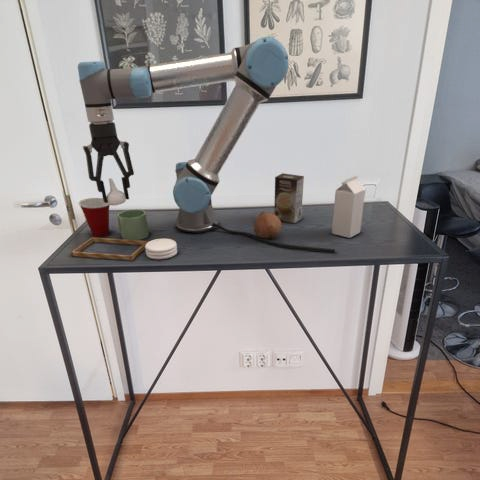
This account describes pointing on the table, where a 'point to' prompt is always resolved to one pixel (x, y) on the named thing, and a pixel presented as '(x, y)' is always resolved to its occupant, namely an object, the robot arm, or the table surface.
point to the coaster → (161, 249)
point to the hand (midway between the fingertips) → (116, 199)
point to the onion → (267, 226)
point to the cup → (133, 224)
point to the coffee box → (288, 197)
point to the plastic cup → (96, 215)
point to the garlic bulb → (115, 195)
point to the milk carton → (348, 208)
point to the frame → (109, 256)
